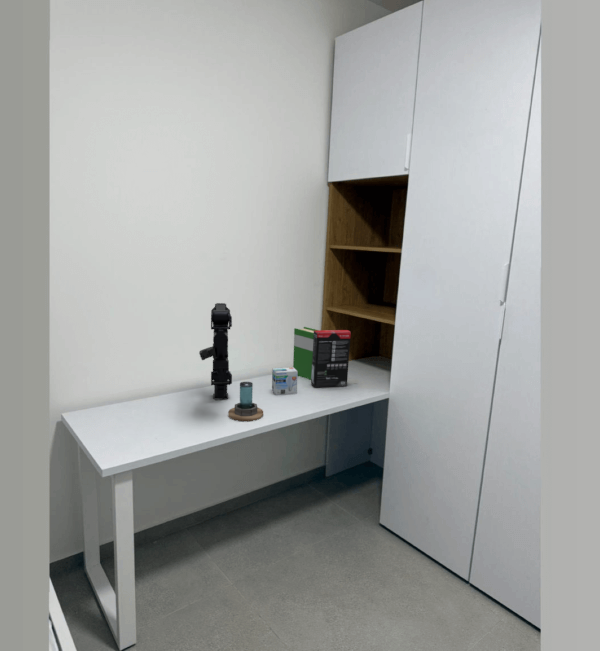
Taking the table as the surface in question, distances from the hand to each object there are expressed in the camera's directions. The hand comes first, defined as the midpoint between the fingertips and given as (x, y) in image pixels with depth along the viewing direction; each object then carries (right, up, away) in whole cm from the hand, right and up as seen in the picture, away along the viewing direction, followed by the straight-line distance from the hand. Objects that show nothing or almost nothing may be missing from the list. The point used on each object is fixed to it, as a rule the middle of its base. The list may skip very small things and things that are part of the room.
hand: (220, 378), depth 206 cm
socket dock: (+11, -14, -4) cm, 18 cm away
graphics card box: (+47, -8, +37) cm, 60 cm away
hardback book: (+38, -5, +50) cm, 63 cm away
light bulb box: (+25, -9, +26) cm, 37 cm away
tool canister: (+11, -13, -4) cm, 17 cm away
